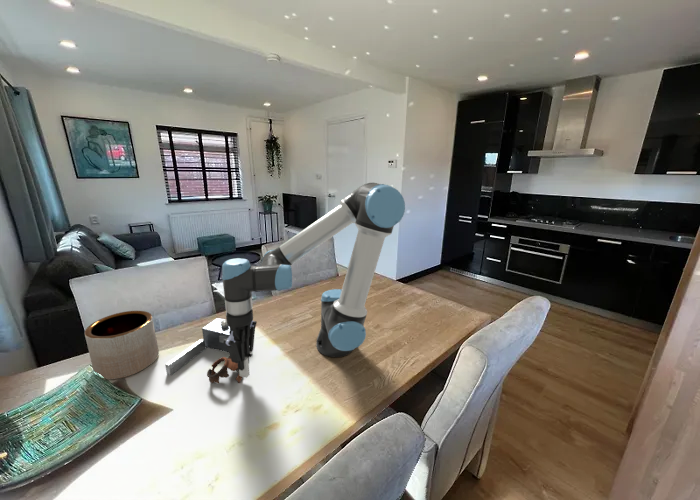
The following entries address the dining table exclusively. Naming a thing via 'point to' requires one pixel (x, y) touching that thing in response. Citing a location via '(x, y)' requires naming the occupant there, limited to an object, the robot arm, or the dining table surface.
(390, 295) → the dining table surface
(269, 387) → the dining table surface
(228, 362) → the brown curved piece
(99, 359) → the planter
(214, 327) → the motor bracket
